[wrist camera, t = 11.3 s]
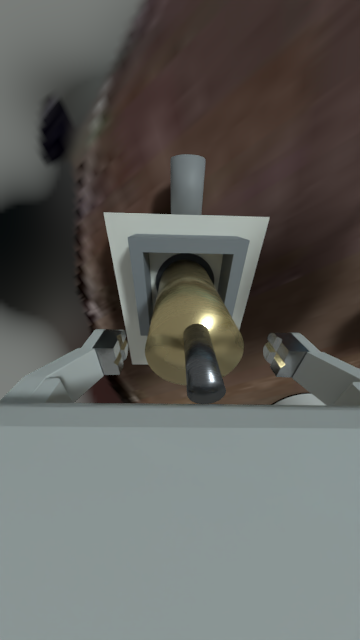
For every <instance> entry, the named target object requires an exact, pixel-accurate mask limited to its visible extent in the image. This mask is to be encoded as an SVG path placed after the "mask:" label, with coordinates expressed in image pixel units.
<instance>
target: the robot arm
mask: <svg viewBox="0 0 360 640" xmlns="http://www.w3.org/2000/svg"><path fill="white" fill-rule="evenodd" d="M125 338H126V333H125V331H124V330H111V329H96V330H94V332H93V333H92V334H91V335H90V337H89V338H88V339H87V341H86V342H85V343H84V345H83V346H82V347H81V348H77V349H76V350H74V351H72V352H70V353H68V354H66V355H64V356H62V357H60V358H58V359H57V360H55V361H53V362H51V363H49V364H47V365H45V366H43V367H41V368H40V369H38V370H36V371H34V372H32V373H30V374H28V375H26V376H24V377H23V378H22V379H21V380H20V381H19V382H18V383H17V384H16V385H15V386H14V387H13V388H12V389H11V390H10V391H9V392H8V393H7V394H6V395H5V396H4V397H3V398H2V399H1V400H0V640H360V369H358V368H356V367H354V366H352V365H350V364H347V363H345V362H343V361H341V360H339V359H337V358H335V357H333V356H331V355H328V354H326V353H324V352H320V351H319V350H318V349H317V348H316V347H315V346H314V345H312V344H311V343H310V342H309V341H308V340H307V339H306V338H305V337H304V336H303V335H302V334H300V333H270V334H269V335H268V338H267V339H268V341H269V342H268V343H266V344H265V346H264V348H263V354H264V358H265V359H266V361H267V362H269V363H270V364H271V366H270V367H271V369H272V371H273V372H274V374H275V375H276V377H292V378H293V379H294V380H295V381H296V382H298V383H299V384H300V385H301V386H303V387H304V388H305V389H306V390H308V391H309V392H310V393H311V394H300V395H295V396H291V397H288V398H285V399H283V400H281V401H279V402H277V403H275V404H273V405H231V404H129V403H74V402H75V401H76V400H77V399H78V398H80V397H81V396H82V395H83V394H84V393H85V392H86V391H87V390H88V389H90V388H91V387H92V386H93V385H94V384H95V383H96V382H97V381H98V380H99V379H101V378H102V377H103V376H104V375H120V373H121V371H122V368H123V365H124V364H123V361H124V360H125V359H126V357H127V354H128V343H127V342H126V341H125Z"/></svg>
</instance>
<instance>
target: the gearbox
mask: <svg viewBox="0 0 360 640" xmlns="http://www.w3.org/2000/svg"><path fill="white" fill-rule="evenodd" d="M204 173H205V158H203V157H201V156H197V155H187V154H186V155H177V156H174V157H172V158H171V214H139V213H104V212H103V213H104V218H105V223H106V229H107V234H108V239H109V244H110V250H111V255H112V260H113V265H114V271H115V276H116V281H117V286H118V291H119V297H120V302H121V307H122V312H123V318H124V323H125V328H126V333H127V339H128V344H129V349H130V354H131V360H132V364H148V363H147V360H146V357H145V345H146V341H147V337H148V332H149V328H150V324H151V319H152V315H153V311H154V306H155V302H156V298H157V294H158V289H159V285H160V281H161V277H162V274H163V272H164V271H165V269H166V268H167V267H168V266H169V265H170V264H172V263H174V262H176V261H179V260H192V261H195V262H197V263H199V264H200V265H201V266H202V267H203V268H204V269H205V270H206V272H207V274H208V276H209V277H210V279H211V281H212V283H213V285H214V286H215V288H216V290H217V292H218V294H219V295H220V297H221V299H222V301H223V303H224V304H225V306H226V308H227V310H228V312H229V313H230V315H231V317H232V319H233V321H234V322H235V324H236V326H237V328H238V330H239V329H240V326H241V322H242V318H243V315H244V311H245V307H246V303H247V300H248V296H249V292H250V289H251V285H252V281H253V278H254V274H255V270H256V266H257V263H258V259H259V255H260V252H261V248H262V244H263V240H264V237H265V233H266V229H267V226H268V222H269V218H270V217H246V216H210V215H201V211H202V198H203V185H204Z"/></svg>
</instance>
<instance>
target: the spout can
mask: <svg viewBox="0 0 360 640" xmlns="http://www.w3.org/2000/svg"><path fill="white" fill-rule="evenodd" d="M243 351H244V342H243V338H242V335H241V333H240V331H239V330H238V328H237V326H236V324H235V322H234V321H233V319H232V317H231V315H230V313H229V312H228V310H227V308H226V306H225V304H224V303H223V301H222V299H221V297H220V295H219V294H218V292H217V290H216V288H215V286H214V285H213V283H212V281H211V279H210V277H209V276H208V274H207V272H206V270H205V269H204V268H203V267H202V266H201V265H200V264H199V263H197V262H195V261H192V260H179V261H176V262H174V263H172V264H170V265H169V266H168V267H167V268H166V269H165V271H164V272H163V274H162V277H161V281H160V285H159V289H158V294H157V298H156V302H155V306H154V311H153V315H152V319H151V324H150V328H149V332H148V337H147V341H146V345H145V357H146V360H147V363H148V365H149V366H150V368H151V369H152V370H153V371H154V372H155V373H156V374H157V375H158V376H160V377H161V378H163V379H165V380H167V381H169V382H172V383H176V384H181V385H187V396H188V398H189V399H190V400H191V401H193V402H195V403H199V404H209V403H214V402H216V401H218V400H220V399H221V398H222V397H223V396H224V395H225V392H226V389H225V386H224V382H223V379H222V377H224V376H225V375H227V374H228V373H230V372H231V371H232V370H233V369H234V368H235V367H236V366H237V364H238V363H239V361H240V360H241V357H242V355H243Z"/></svg>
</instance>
